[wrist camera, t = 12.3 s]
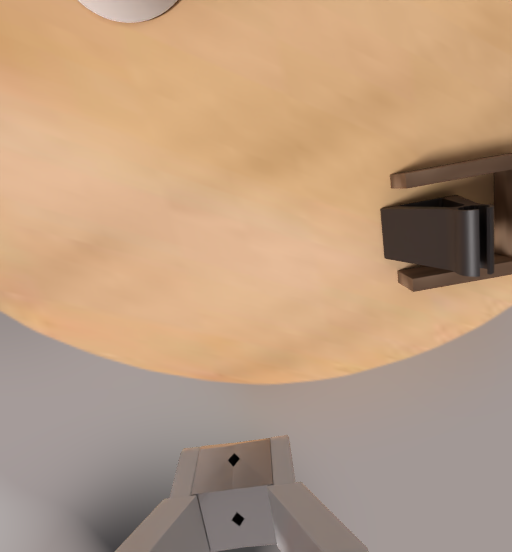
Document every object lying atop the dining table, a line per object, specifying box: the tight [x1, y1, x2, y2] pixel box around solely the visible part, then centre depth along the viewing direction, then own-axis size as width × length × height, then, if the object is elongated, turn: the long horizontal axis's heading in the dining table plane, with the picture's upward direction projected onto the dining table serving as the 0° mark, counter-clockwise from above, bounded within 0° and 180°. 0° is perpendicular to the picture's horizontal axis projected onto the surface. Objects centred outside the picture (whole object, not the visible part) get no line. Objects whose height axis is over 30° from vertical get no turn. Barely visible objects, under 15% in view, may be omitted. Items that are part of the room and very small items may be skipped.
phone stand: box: [380, 195, 494, 277], centre depth 36 cm, size 9×6×12 cm, turn 100°
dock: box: [390, 153, 512, 292], centre depth 40 cm, size 13×14×4 cm
